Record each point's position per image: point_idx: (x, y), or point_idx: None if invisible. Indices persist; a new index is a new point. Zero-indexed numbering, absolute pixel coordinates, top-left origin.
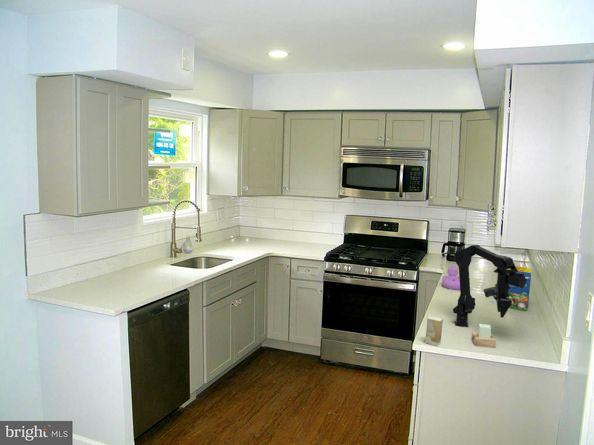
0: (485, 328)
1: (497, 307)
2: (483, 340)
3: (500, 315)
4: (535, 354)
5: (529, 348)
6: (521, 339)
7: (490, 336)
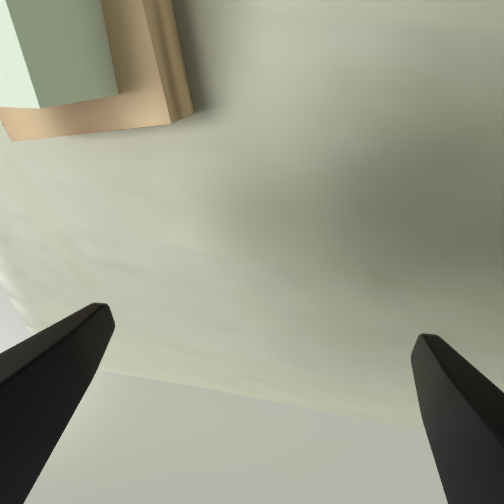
0: None
1: (466, 400)
2: None
3: (71, 317)
4: None
5: (170, 317)
6: (308, 318)
7: (87, 104)
